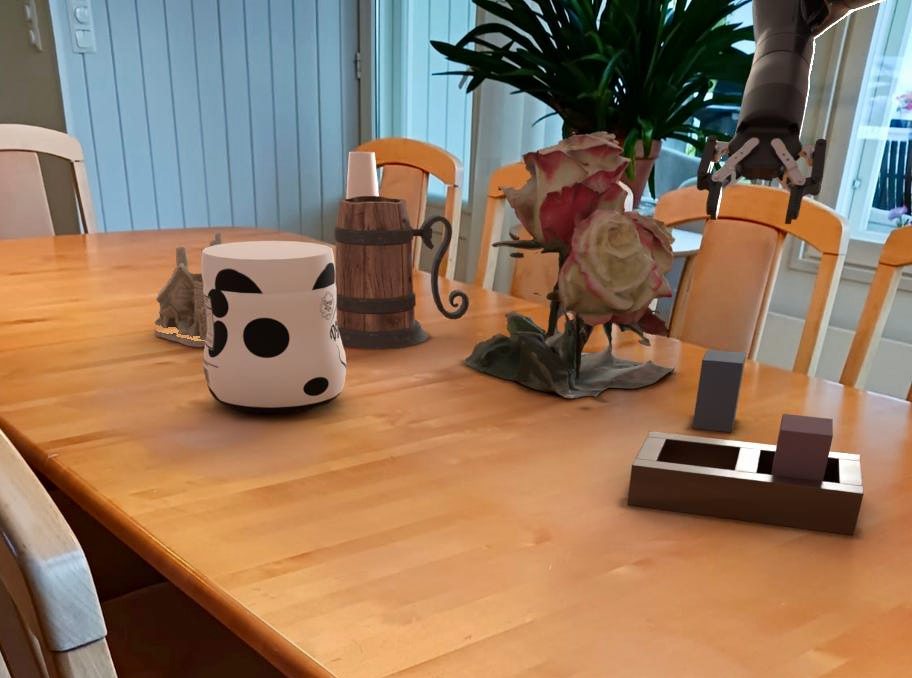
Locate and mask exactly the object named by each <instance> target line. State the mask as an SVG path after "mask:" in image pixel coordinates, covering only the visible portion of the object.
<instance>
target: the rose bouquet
mask: <svg viewBox="0 0 912 678" xmlns="http://www.w3.org/2000/svg"><path fill="white" fill-rule="evenodd" d="M571 133H573V135H572V136H569V137H568V138H564V139H561V140H558V142H557V144H553V145H550V146H547V147H544V148H540V149H537V150H536V151H527V152H526V153H524V154H521V157H522V160H523V162H524V165H525V171H527V172H529V175H530V177H529V178H528V179H527V180H526V181H525V182H526V183H525V184H524V185H523V186H522V187H520V189H516V188H515V187H514V186H511V187H505V186H501V185H500V186H499V185H498V186H497V189H498V191H502V192H503V195H504V196H505V199H506V200H507V202H508V204H509V207H510V208H512V209H514V214H515V216H516V218H517V219H518V221H519V222H520V224H521V226H523V228H524V230H526V232H527V233H528V234H529V235H530V236H531V237H532V239H515V240H514V239H513V240H511V239H510V240H500V241H496V242H493V243H491V246H492V247H493V248H501V247H506V248H514V249H520V250H527V251H537V250H541V251H540V254H549V253H550V254H553V253H555V254H558V258H557V261H558V271H557V280H556V283H555V284H554V285H553V290H552V291H550V292H548V293H547V294H546V297H545V298H546V300H548V301H550V303H549V314H548V322H547V323H548V327H547V331H546V330H545V329H544V328H542V327H541V326H539V325H538V324H536V323H535V321H534V319H533V318H532V317H529V316H525V315H523V314H520V313H519V312H518V311H516V310H514V311H513V310H511V311H510V312H508V313H504V317H505V318H506V321H507V324H506V330H507V332H508V333H509V336H508V335H505V334H502V333H501V332H499V333H497V334H494V335H492V337H490V338H488V339H486V340H484V341H479V342H478V343H476V344H475V345H474V348H473V349H472V352H471V354H470V355H468V356H467V357H466V358H465V365H466V366H468V367H471V368H472V369H475V370H476V371H479V372H482V373H483V374H488V375H491V376H494V377H497V378H498V379H501V380H504V381H506V380H510V381H517V382H518V383H519V384H522V385H523V386H525V387H528V388H530V389H533V390H537V391H539V392H544V393H552V394H553V393H554V394H557V395H560V396H562V397H563V398H565V399H578V398H581V397H591V396H593V397H594V398H596V399H599V400H604V399H602V398H600V397H598V396H599V395H600V394H601V393H602V392H603V391H605V390H607V389H608V388H613V389H614V388H616V389H635V390H636V389H639V388H643V387H645V386H649V385H652V384H654V383H657V381H659V380H660V379H662V378H663V377H664V376H666V375H668V373H671V372H674V371H675V369H676V367H675V366H663V365H661V364H659V363H655V362H654V361H652V360H648V361H646V362H638V361H633V360H627V359H621V358H618V357H617V356H616V355H615V354H613V344H612V343H613V342H612V341H613V335H612V333H613V325H614V324H617V326H618V328H619V330H620V332H621V333H623V332H626V331H631V332H633V333H634V334H636V335H638V336H639V337H640V338H641V339H639V340H637V342H638V343H639V344H640V345H643V346H645V347H651V342H650V339H649V338H647V337H646V336H645V335H644V333H645V334H647V335H651V336H657V335H660V334H662V333H663V332H664V331H665V330H666V324H667V322H666V321H665V320H664V319H662V318H660V317H659V316H657V315H656V314H655V313H657V314H659V315H660V314H661V311H659V310H654V309H652V308H651V307H650V305H651V304H652V303H653V301H654V300H655V299H656V300H658V299H663V298H670V299H671V298H673V291H672V288H671V286H670V283H669V280H668V279H667V278H666V277H664V276H665V275H667V274H669V273H670V272H671V271H672V269H673V268H674V267H673V266H674V258H675V257H674V250H673V246H672V245H673V244H674V243H675V242H676V238H675V237H674V236H673V234H672V233H671V232H670V231H669V229H668V227H667V225H666V224H665V222H664V221H661V220H659V219H656V218H654V217H651V216H648V215H643V214H642V213H641V214H640V212H639V211H637V210H628V211H627V210H626V209H625V202H626V200H627V197H628V196H629V192H628V191H627V190H626V189H625V188H624V187H622V186H621V185H620V184H619V183H620V181H621V177H622V176H623V175H622V174H623V173H624V171H625V170H626V169H627V168H628V167H629V165H630V163H631V162H632V159H631V158H628V157H624V156H621V155H620V154H622V153H624V152H625V151H624V148H623V147H621V146H619V144H620V143H619V141H618V140H615V139H616V134H614V133H608V132H607V131H596V132H592V133H585V134H576V132H575V131H572V132H571ZM536 254H538V251H537V252H535V253H534V255H536ZM509 256H510V258H515V259H523V258H525V254H524V253H523V252H518V251H517V252H511V253H510V254H509ZM449 260H450V262H452V258H450V259H449ZM532 294H533V295H537V296H540V297H542V295H541V294H540V293H538V292H533V293H532ZM569 312H572V314H573V319H570V317H569V316H568V313H569ZM563 316H564V319H565V322H563V328H564V331H561V330H559V327H558V322H559V319H560V318H561V317H563ZM542 325H543V322H542ZM598 325H599V326H600V325H602V328H603V332H604V334H605V335H606V338H607V341H608V345H607V347H606V348H605V349H604V350H602V351H598V352H583V350H584V348H585V345H586V344H587V343H588V342H589V339H590V337H591V335H592V333H593V331H594V329H595V327H596V326H598Z"/></svg>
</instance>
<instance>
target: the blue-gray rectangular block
mask: <svg viewBox="0 0 912 678" xmlns="http://www.w3.org/2000/svg"><path fill="white" fill-rule="evenodd" d="M746 357H747V352H741V351H729V350H717V349H706V351H705V353H704V355H703V357H702V360H701V365H700V374H699V380H698V387H697V393H696V400H695V405H694V412H693V413H694V414H693V420H692V426H691V428H692V429H694V430H695V429H696V430H703V431H704V430H705V431H713V432H723V433H732V432H733V429H734V425H735V422H736V416H737V411H738V404H739V399H740V392H741V387H742V380H743V375H744V369H745V363H746V359H747V358H746Z"/></svg>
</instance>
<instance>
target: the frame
mask: <svg viewBox="0 0 912 678" xmlns="http://www.w3.org/2000/svg"><path fill="white" fill-rule="evenodd" d="M776 446H777V444H776V445H774V444H767V443H759V442H758V443H757V442H749V441H741V440H732V439H722V438H714V437H707V436H706V437H705V436H696V435H688V434H687V435H686V434H678V433H670V432H660V431H653V430H652V431H651V430H649V432H648V433H647V435H646V438H645V440H644V441H643V443H642V446H641V447H640V449H639V451H638V452H637V455H636V457H635V458H634V459H633V462H632V464H631V469H630V477H629V478H630V479H629V485H628V494H627V502H626V503H627V504H626V505H628V506H635V507H641V508H648V509H655V510H663V511H671V512H677V513H685V514H693V515H698V516H699V515H700V516H708V517H716V518H722V519H729V520H730V519H731V520H738V521H745V522H751V523H752V522H753V523H757V524H758V523H760V524H765V525H766V524H767V525H774V526H781V527H790V528H795V529H804V530H812V531H817V532H818V531H819V532H824V533H825V532H826V533H834V534H841V535H847V536H854V534H855V531H856V527H857V522H858V519H859V515H860V511H861V507H862V502H863V498H864V494H865V493H864V484H863V474H862V473H863V472H862V465H861V464H862V463H861V455H860V454H855V453H846V452H837V451H830V452H829V456H828V461H827V465H826V470H825V474H824V479H823V481H815V480H807V479H799V478H790V477H782V476H774V475H771V472H772V466H773V461H774V456H775V451H776Z"/></svg>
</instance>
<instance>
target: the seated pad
mask: <svg viewBox="0 0 912 678" xmlns="http://www.w3.org/2000/svg"><path fill="white" fill-rule="evenodd" d="M833 420H834V419H833V418H826V417H817V416H809V415H798V414H789V413H783V414H782V416H781V421H780V426H779V431H778V436H777V442H776V451H775V456H774V461H773V466H772V472H771V475H774V476H782V477H790V478H799V479H807V480H815V481H823V479H824V474H825V470H826V465H827V461H828V456H829V452H831V447H832V442H833V438H834V421H833Z"/></svg>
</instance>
